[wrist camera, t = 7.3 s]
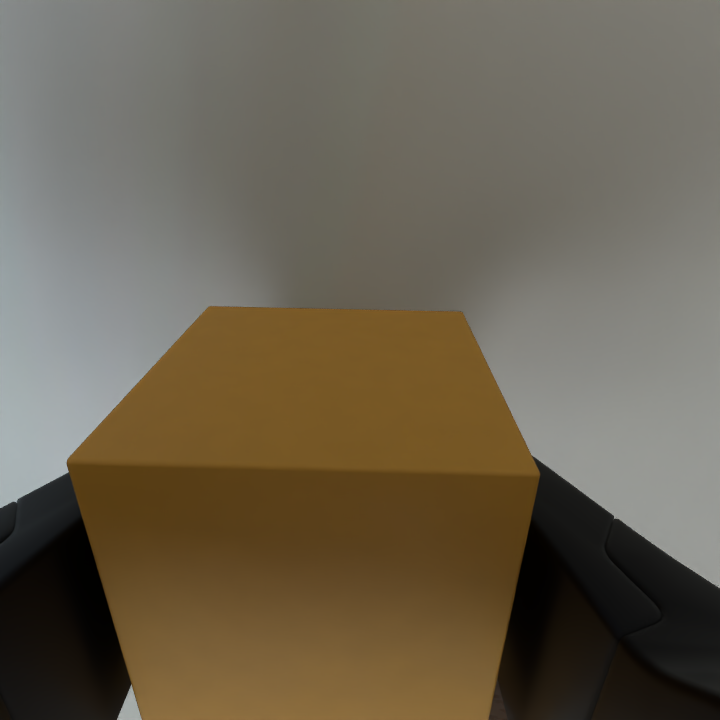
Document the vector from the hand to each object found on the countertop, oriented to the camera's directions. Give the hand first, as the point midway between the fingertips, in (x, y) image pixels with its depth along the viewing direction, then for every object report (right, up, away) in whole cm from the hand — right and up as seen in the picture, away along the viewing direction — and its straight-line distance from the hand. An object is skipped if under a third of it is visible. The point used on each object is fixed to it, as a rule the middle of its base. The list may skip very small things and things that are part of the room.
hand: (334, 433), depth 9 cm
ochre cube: (0, 0, +1) cm, 1 cm away
